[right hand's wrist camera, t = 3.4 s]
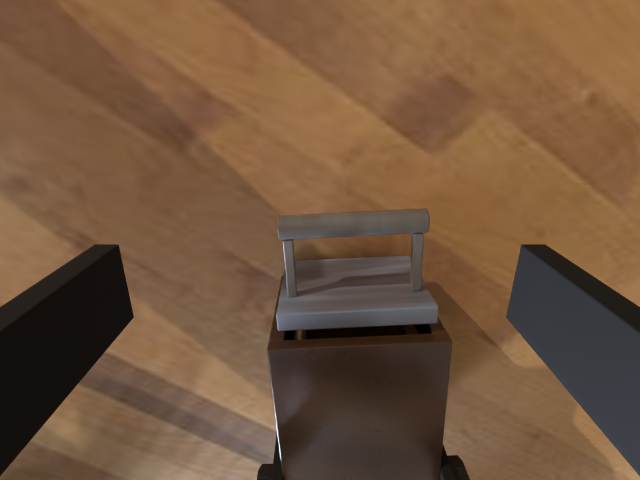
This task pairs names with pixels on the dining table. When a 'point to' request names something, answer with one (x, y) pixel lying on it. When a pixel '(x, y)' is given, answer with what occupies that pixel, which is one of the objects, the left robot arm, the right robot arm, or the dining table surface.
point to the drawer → (354, 279)
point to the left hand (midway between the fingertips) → (355, 428)
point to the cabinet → (360, 404)
